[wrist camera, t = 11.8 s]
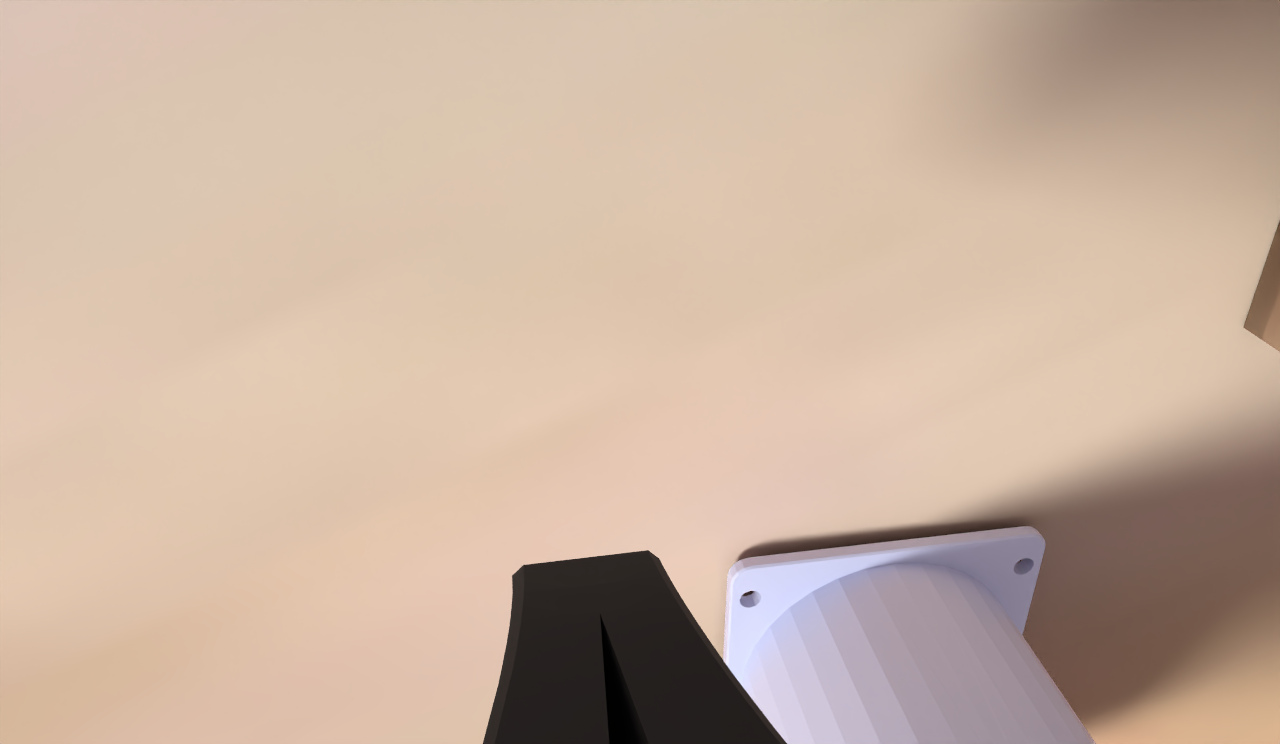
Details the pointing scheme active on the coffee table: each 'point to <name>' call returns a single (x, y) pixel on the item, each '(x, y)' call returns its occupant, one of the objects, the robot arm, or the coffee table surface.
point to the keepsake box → (1267, 299)
